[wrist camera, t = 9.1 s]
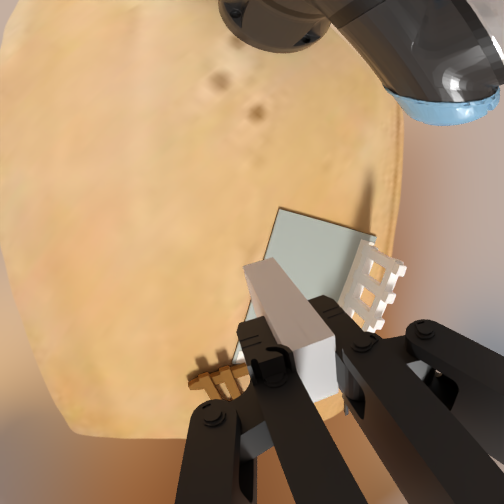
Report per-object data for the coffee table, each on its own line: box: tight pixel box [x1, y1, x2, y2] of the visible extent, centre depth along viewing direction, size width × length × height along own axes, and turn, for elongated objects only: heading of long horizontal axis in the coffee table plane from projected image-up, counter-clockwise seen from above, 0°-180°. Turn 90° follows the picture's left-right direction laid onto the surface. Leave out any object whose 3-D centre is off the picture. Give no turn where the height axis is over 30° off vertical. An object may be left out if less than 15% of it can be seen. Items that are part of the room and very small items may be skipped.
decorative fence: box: [188, 362, 249, 400], centre depth 49 cm, size 25×2×10 cm
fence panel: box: [342, 244, 407, 333], centre depth 42 cm, size 18×2×9 cm, turn 165°
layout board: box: [232, 209, 377, 365], centre depth 45 cm, size 25×17×1 cm
